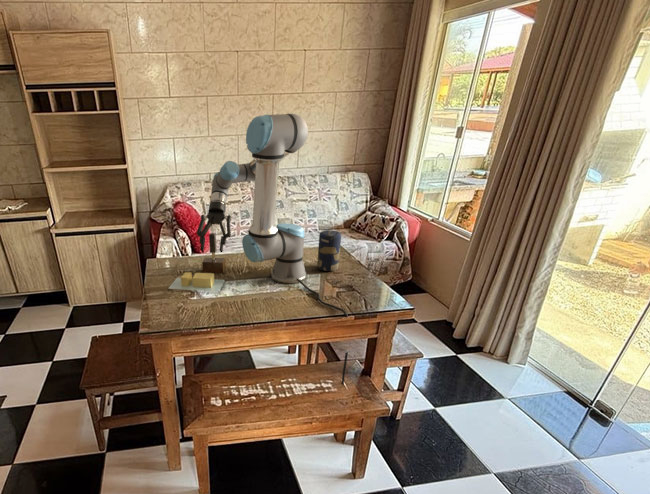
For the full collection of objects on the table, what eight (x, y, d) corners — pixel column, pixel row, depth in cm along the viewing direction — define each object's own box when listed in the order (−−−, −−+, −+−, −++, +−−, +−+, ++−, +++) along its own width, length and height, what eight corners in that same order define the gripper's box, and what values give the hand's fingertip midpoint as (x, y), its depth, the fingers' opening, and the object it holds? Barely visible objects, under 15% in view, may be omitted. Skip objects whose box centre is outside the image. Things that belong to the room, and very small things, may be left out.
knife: (217, 269, 189) (215, 233, 180) (216, 271, 186) (214, 235, 178) (212, 268, 189) (210, 233, 181) (211, 271, 187) (208, 235, 178)
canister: (342, 268, 187) (346, 229, 178) (331, 274, 181) (335, 234, 172) (323, 263, 193) (327, 226, 184) (312, 269, 187) (315, 230, 178)
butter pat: (192, 281, 177) (191, 272, 175) (188, 286, 172) (187, 277, 170) (185, 280, 178) (184, 272, 176) (181, 286, 173) (180, 277, 171)
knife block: (225, 270, 190) (225, 258, 187) (223, 275, 185) (222, 262, 182) (206, 269, 192) (205, 257, 189) (203, 274, 187) (202, 261, 184)
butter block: (214, 282, 176) (213, 273, 174) (211, 287, 170) (210, 278, 168) (196, 281, 177) (195, 272, 175) (192, 286, 172) (192, 278, 170)
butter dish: (225, 282, 178) (224, 279, 177) (219, 293, 168) (218, 291, 167) (177, 279, 182) (176, 277, 182) (168, 290, 172) (168, 288, 171)
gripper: (241, 209, 187) (235, 255, 181) (197, 209, 191) (190, 253, 185) (238, 200, 180) (233, 247, 174) (193, 200, 184) (186, 246, 178)
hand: (211, 250), depth 180 cm, fingers open, 8 cm apart
